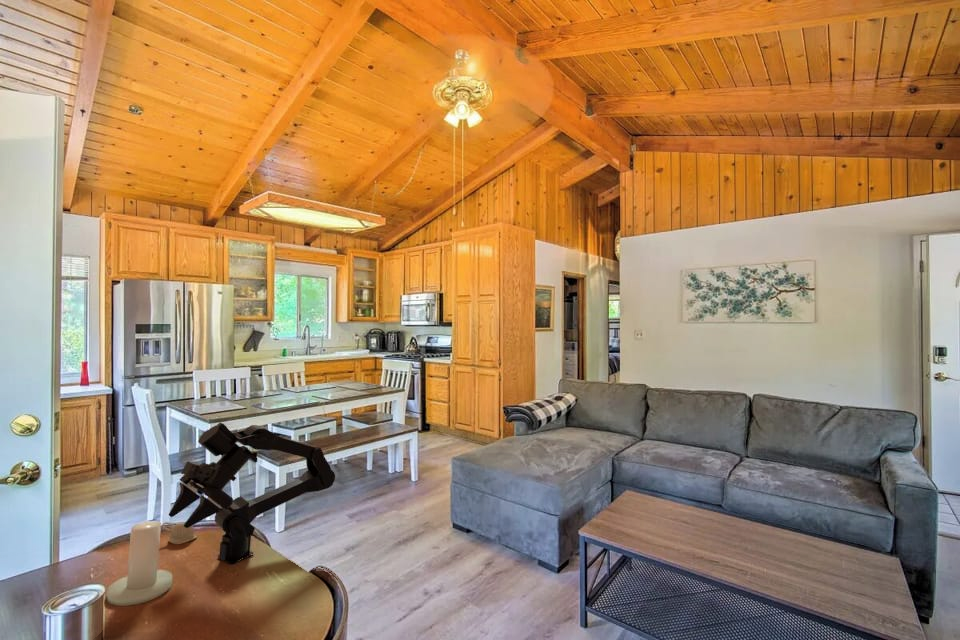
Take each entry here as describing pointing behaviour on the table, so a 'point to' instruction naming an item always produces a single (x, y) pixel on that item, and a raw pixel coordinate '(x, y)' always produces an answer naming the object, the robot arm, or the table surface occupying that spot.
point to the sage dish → (126, 597)
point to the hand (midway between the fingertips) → (177, 521)
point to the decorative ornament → (179, 533)
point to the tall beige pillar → (143, 555)
